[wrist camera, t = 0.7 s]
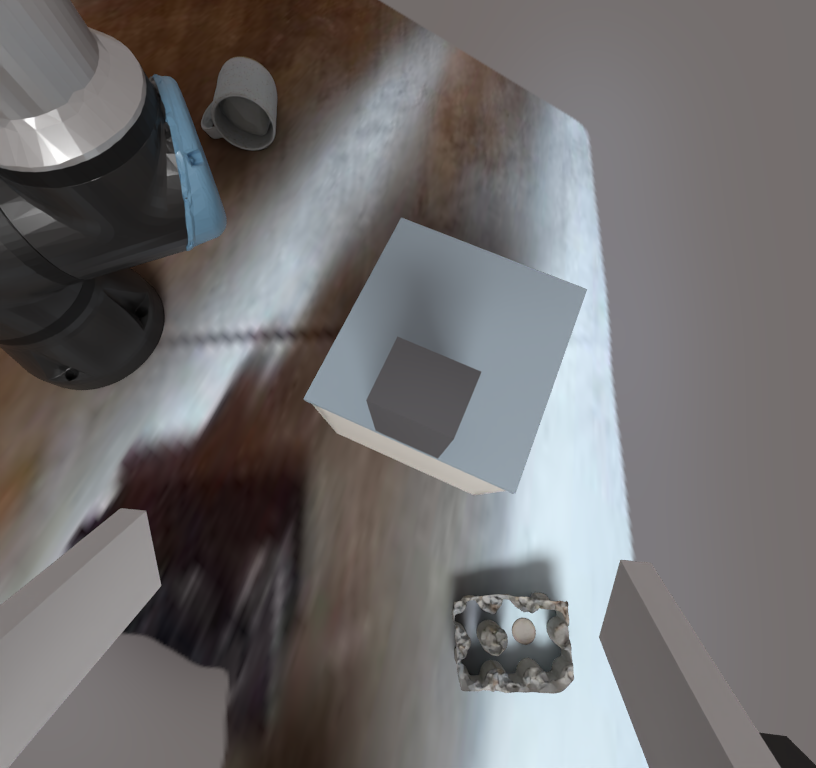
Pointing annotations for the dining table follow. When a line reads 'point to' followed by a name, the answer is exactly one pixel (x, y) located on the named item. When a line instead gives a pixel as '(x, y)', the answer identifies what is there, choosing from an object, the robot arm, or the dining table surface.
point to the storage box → (407, 455)
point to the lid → (451, 353)
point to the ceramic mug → (243, 105)
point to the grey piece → (524, 632)
